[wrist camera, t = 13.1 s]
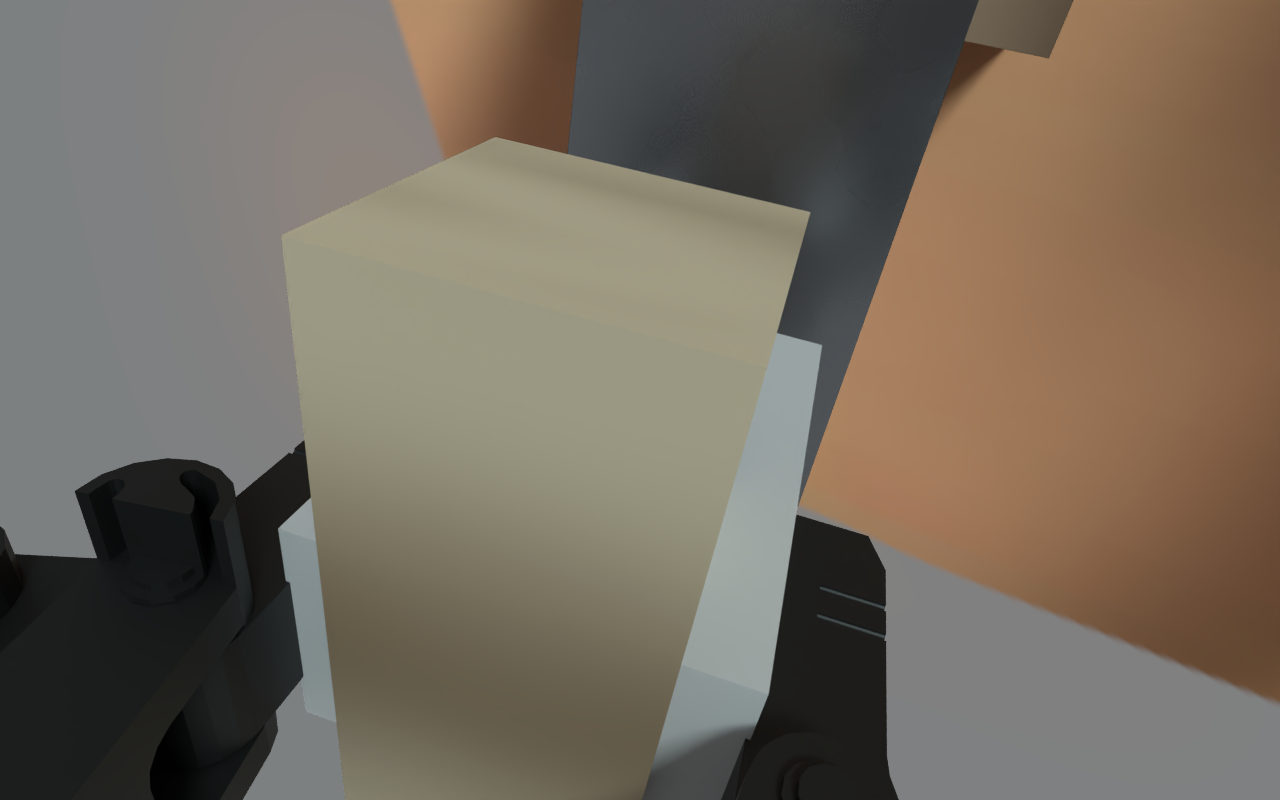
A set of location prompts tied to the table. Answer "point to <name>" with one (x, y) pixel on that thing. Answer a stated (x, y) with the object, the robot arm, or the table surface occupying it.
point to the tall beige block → (586, 377)
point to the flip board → (1019, 24)
